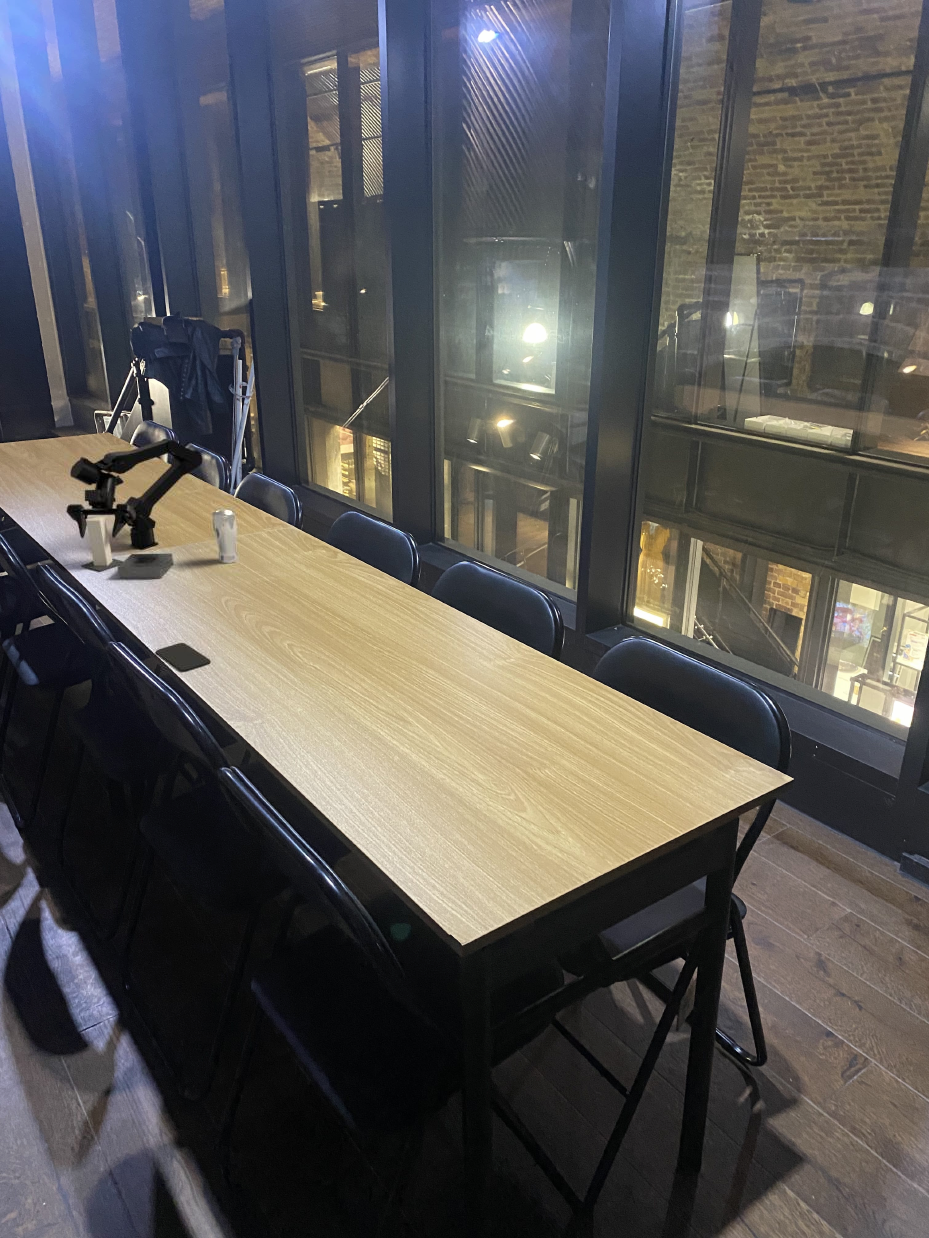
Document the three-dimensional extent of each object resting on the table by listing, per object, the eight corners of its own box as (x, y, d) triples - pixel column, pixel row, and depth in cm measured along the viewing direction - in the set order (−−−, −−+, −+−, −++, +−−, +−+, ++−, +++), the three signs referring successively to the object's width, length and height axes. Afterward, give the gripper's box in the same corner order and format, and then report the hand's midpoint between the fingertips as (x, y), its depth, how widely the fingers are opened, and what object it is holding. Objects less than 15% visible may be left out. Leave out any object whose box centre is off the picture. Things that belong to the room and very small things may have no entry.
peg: (99, 561, 266) (91, 516, 260) (112, 561, 266) (104, 516, 260) (94, 565, 262) (86, 520, 257) (107, 565, 262) (99, 520, 257)
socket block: (133, 564, 264) (131, 553, 262) (173, 564, 264) (171, 553, 263) (119, 578, 253) (117, 567, 251) (161, 578, 253) (159, 566, 252)
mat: (106, 558, 270) (106, 556, 270) (125, 563, 265) (125, 561, 265) (81, 566, 263) (80, 565, 263) (100, 571, 258) (100, 570, 258)
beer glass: (234, 564, 264) (228, 516, 258) (213, 563, 265) (207, 515, 259) (244, 557, 270) (239, 510, 264) (223, 555, 271) (217, 508, 265)
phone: (183, 641, 211) (212, 661, 200) (183, 644, 211) (213, 664, 200) (153, 650, 206) (181, 670, 196) (154, 653, 206) (182, 674, 196)
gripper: (62, 477, 258) (54, 524, 252) (126, 477, 258) (119, 524, 252) (78, 497, 268) (70, 542, 262) (139, 496, 268) (132, 541, 263)
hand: (97, 537), depth 260 cm, fingers open, 9 cm apart
